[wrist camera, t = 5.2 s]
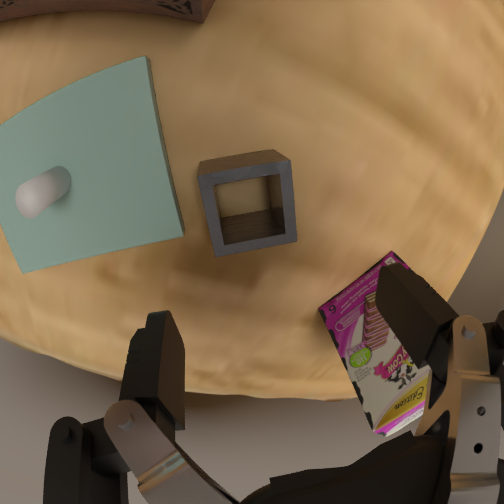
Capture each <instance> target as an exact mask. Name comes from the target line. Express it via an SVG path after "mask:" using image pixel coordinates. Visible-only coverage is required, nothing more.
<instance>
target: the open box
mask: <svg viewBox="0 0 504 504" xmlns="http://www.w3.org/2000/svg"><path fill="white" fill-rule="evenodd" d="M261 176H267V178H268V186H269V194H270V203H271V209H269V210H263V211H257V212H252V213H246V214H241V215H236V216H230V217H225V218H221V215H220V210H219V205H218V200H217V195H216V189H215V185H216V184H221V183H227V182H232V181H238V180H243V179H249V178H255V177H261ZM197 177H198V182H199V187H200V191H201V196H202V201H203V205H204V210H205V214H206V219H207V223H208V228H209V232H210V236H211V241H212V245H213V249H214V254H215V257H219V256H224V255H230V254H235V253H240V252H245V251H250V250H256V249H261V248H266V247H271V246H276V245H282V244H287V243H292V242H297V231H296V217H295V204H294V192H293V181H292V170H291V160H289V159H288V158H286V157H285V156H283V155H282V154H280V153H279V152H277V151H276V150H274V149H272V150H265V151H258V152H251V153H245V154H239V155H233V156H227V157H222V158H216V159H211V160H206V161H201V162H200V165H199V170H198V175H197Z"/></svg>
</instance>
